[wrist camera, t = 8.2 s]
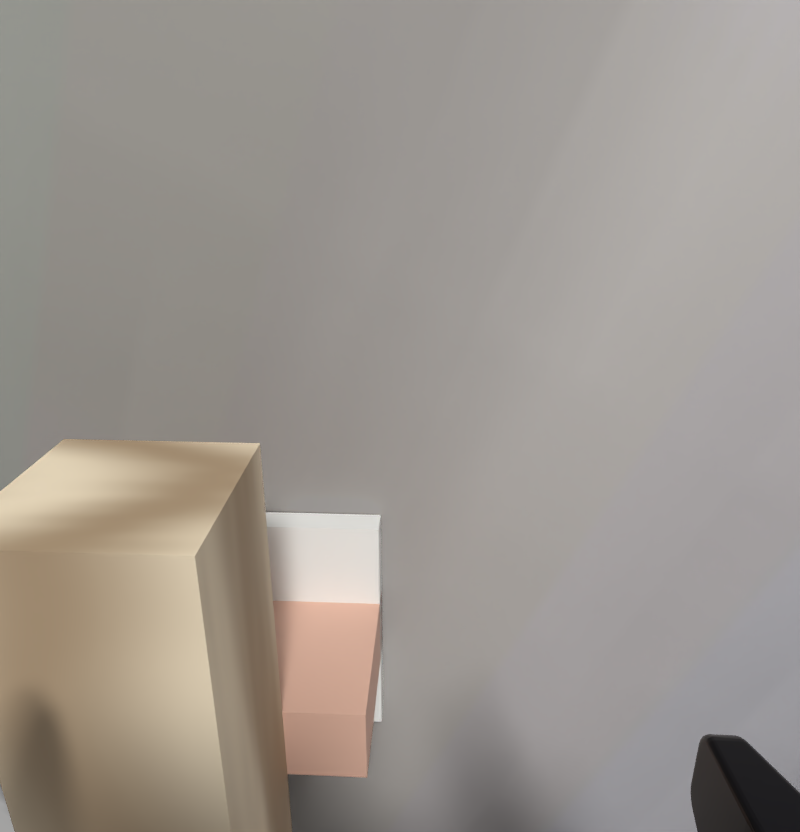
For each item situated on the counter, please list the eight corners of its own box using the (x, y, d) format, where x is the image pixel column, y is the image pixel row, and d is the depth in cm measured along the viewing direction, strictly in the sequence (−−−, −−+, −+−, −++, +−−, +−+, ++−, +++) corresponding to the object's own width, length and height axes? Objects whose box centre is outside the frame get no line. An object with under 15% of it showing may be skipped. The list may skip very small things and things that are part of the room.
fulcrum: (380, 514, 20) (363, 628, 16) (383, 702, 23) (369, 848, 18) (108, 508, 21) (13, 617, 16) (142, 693, 23) (68, 833, 19)
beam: (259, 443, 14) (194, 556, 10) (302, 953, 20) (271, 1141, 16) (64, 439, 14) (-70, 548, 10) (164, 946, 20) (103, 1129, 16)
